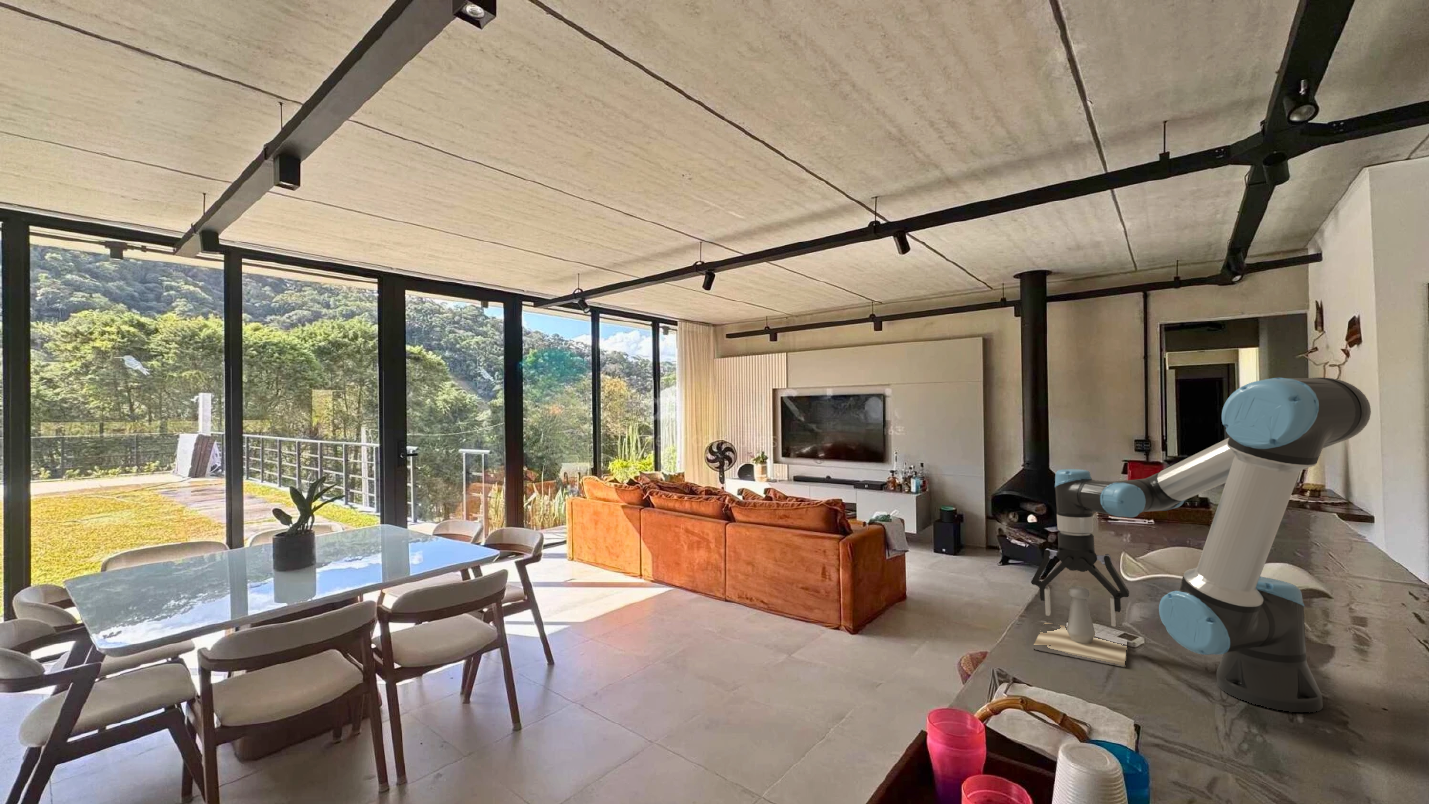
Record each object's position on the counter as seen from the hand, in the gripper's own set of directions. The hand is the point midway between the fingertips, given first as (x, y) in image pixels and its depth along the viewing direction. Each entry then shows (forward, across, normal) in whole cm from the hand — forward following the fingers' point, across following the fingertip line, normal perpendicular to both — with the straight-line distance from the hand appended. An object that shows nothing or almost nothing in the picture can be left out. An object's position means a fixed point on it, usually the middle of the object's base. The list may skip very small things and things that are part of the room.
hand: (1080, 619), depth 139 cm
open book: (+6, 0, 0) cm, 6 cm away
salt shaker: (+5, 0, 0) cm, 5 cm away
